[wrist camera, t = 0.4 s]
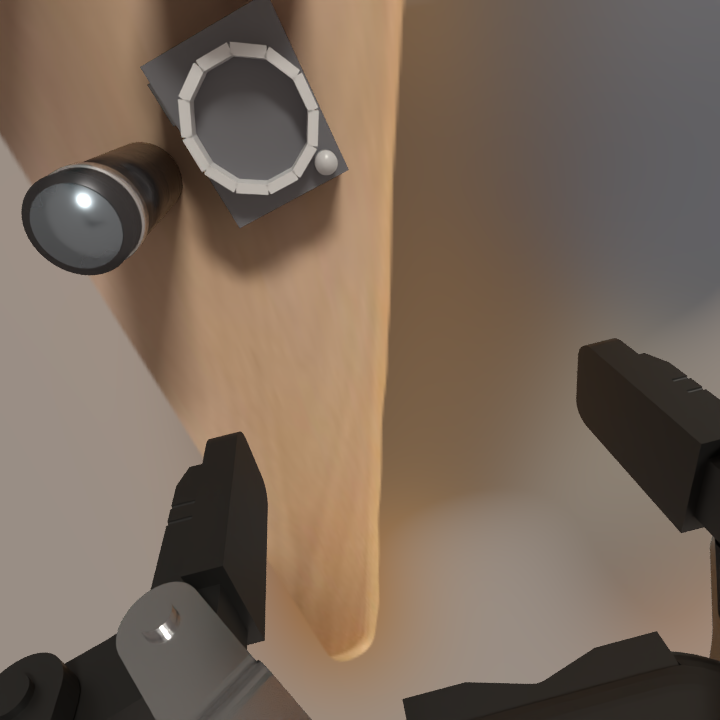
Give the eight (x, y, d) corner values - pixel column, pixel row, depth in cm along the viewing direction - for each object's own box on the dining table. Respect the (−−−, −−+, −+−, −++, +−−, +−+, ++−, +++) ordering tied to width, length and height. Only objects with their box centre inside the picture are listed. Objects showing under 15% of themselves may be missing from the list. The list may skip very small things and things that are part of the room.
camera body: (152, 71, 30) (128, 68, 26) (268, 3, 30) (265, -13, 25) (240, 216, 35) (233, 236, 31) (341, 161, 34) (351, 173, 30)
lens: (92, 162, 32) (-10, 204, 21) (154, 127, 32) (83, 150, 20) (139, 226, 35) (71, 295, 23) (197, 194, 34) (156, 249, 23)
